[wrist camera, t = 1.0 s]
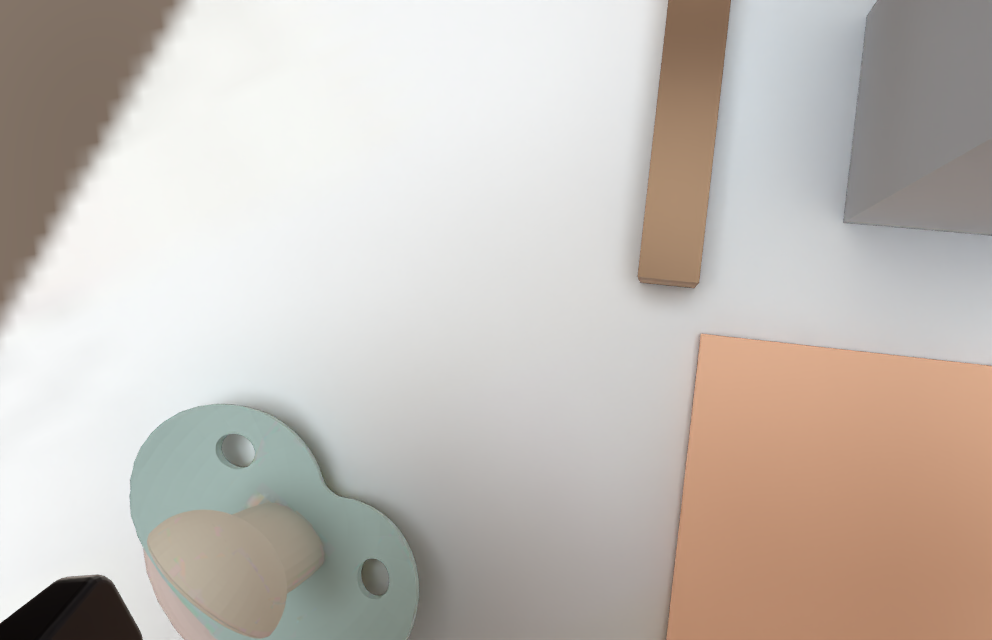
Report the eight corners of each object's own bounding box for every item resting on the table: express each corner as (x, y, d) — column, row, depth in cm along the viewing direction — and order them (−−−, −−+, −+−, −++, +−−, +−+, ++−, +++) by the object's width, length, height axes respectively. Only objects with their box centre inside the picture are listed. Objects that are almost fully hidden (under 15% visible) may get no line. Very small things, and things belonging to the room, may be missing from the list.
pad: (1141, 872, 19) (1155, 887, 18) (651, 776, 21) (650, 787, 20) (1199, 388, 19) (1214, 390, 18) (700, 333, 20) (701, 333, 20)
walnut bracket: (1124, 331, 19) (1247, 333, 15) (640, 282, 21) (635, 272, 17) (1176, -102, 19) (1313, -215, 15) (684, -114, 21) (690, -219, 17)
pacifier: (319, 746, 22) (472, 566, 21) (181, 915, 16) (388, 672, 15) (109, 544, 23) (247, 364, 22) (-96, 630, 17) (84, 387, 16)
